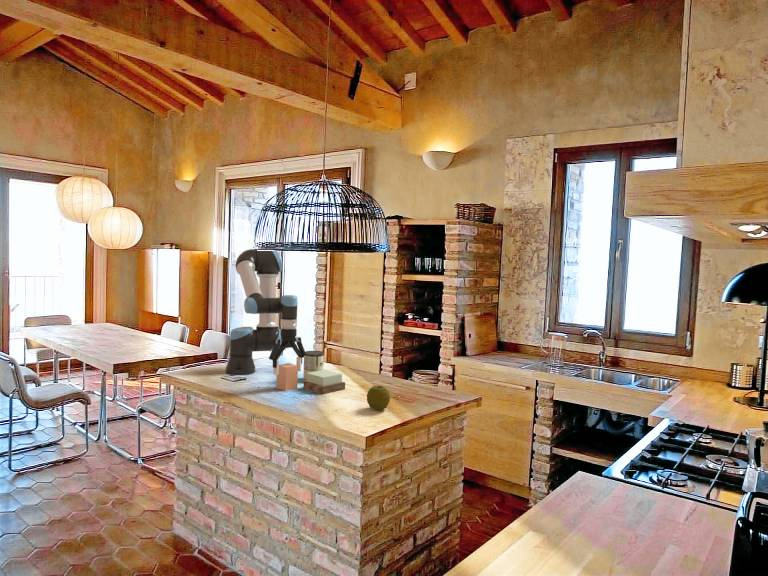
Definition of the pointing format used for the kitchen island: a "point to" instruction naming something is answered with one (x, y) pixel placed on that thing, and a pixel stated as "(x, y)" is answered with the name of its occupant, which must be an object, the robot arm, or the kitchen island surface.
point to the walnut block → (324, 387)
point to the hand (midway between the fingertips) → (287, 372)
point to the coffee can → (313, 362)
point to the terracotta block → (287, 377)
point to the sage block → (323, 377)
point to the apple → (378, 397)
